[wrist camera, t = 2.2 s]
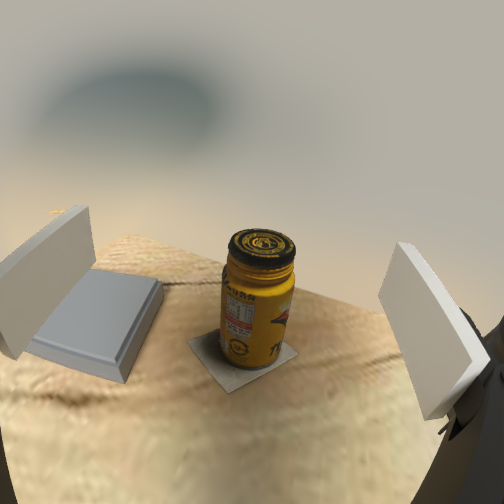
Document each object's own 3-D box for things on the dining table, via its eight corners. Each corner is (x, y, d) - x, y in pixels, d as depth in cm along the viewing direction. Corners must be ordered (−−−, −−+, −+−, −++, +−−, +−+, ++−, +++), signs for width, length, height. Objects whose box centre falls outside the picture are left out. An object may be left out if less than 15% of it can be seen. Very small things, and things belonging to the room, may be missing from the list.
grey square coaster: (163, 297, 35) (161, 277, 33) (124, 383, 23) (116, 363, 22) (69, 281, 35) (64, 262, 33) (16, 347, 24) (6, 327, 22)
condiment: (298, 354, 29) (324, 249, 23) (227, 394, 24) (233, 283, 18) (253, 315, 34) (264, 215, 28) (186, 343, 29) (180, 235, 23)
